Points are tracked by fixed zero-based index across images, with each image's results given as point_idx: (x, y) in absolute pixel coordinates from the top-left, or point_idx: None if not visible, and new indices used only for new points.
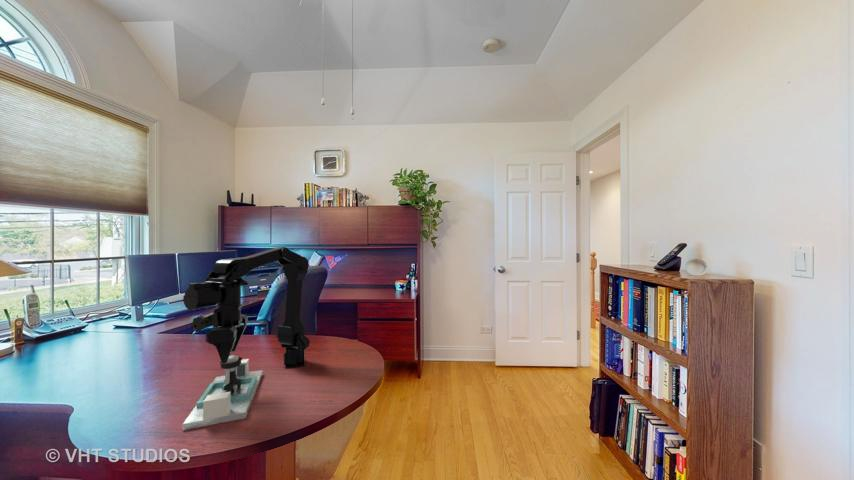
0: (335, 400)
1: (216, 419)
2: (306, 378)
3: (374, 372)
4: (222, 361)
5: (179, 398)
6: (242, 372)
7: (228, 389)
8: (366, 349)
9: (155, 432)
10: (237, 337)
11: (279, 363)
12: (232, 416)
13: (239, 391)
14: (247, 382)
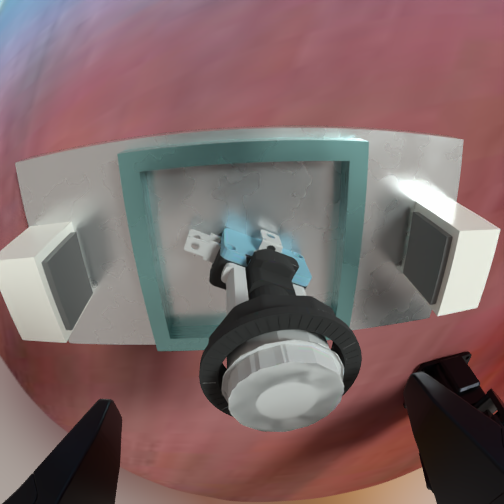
0: (149, 466)
1: None
2: (303, 428)
3: (264, 500)
4: (94, 412)
5: (328, 10)
6: (413, 273)
7: (210, 272)
8: (401, 475)
9: (39, 63)
10: (448, 496)
11: (474, 332)
12: None
13: None
14: (332, 297)
